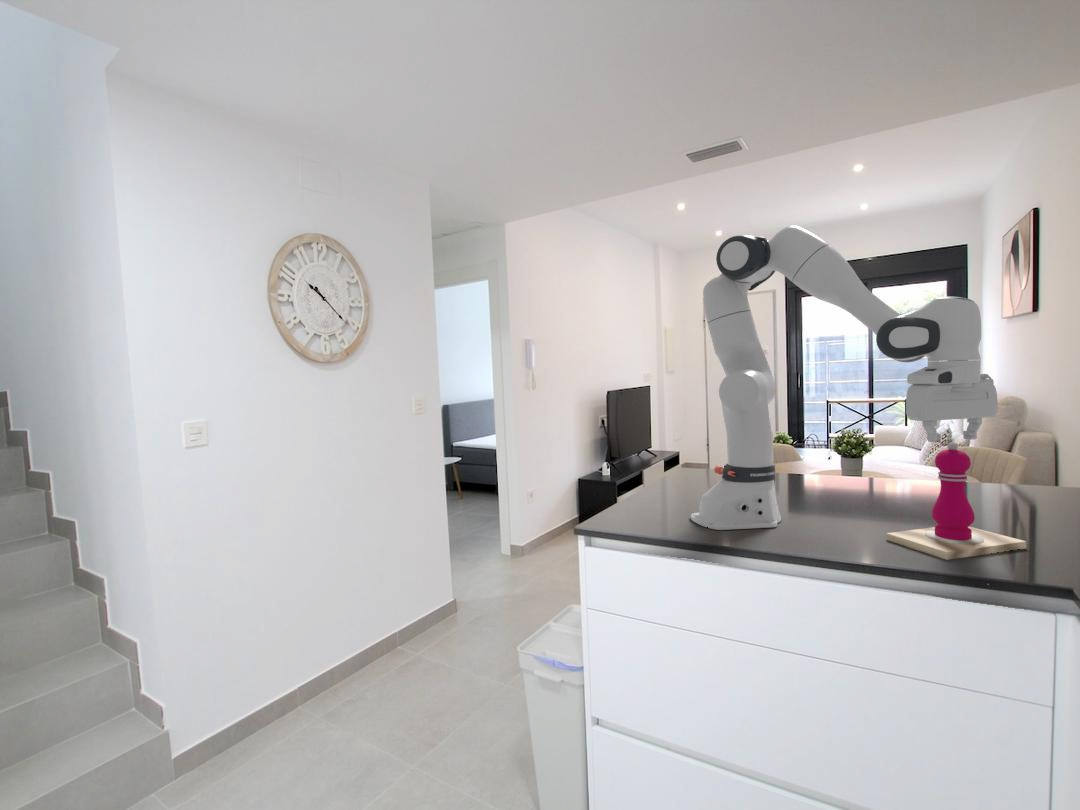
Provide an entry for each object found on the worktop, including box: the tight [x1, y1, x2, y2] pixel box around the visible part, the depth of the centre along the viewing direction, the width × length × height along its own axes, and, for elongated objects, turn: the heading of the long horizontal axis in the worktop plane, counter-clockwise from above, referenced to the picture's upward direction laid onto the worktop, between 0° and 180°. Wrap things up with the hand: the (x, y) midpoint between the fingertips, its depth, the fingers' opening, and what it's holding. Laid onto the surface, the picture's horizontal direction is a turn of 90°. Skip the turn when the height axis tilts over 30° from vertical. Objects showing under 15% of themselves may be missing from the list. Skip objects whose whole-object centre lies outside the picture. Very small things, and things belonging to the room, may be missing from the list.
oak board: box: [886, 526, 1027, 561], centre depth 116 cm, size 20×14×2 cm
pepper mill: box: [931, 441, 976, 540], centre depth 115 cm, size 7×7×20 cm
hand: (952, 440), depth 115 cm, fingers open, 8 cm apart
